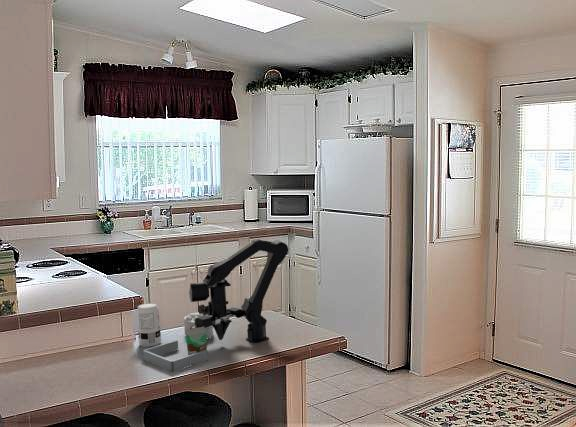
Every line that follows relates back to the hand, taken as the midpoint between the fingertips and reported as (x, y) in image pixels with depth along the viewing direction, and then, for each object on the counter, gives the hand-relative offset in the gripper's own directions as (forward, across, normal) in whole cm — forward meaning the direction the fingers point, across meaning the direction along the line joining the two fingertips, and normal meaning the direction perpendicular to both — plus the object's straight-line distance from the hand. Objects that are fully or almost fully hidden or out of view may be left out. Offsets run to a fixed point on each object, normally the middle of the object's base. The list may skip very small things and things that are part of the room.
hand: (220, 339), depth 222 cm
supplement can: (+2, +16, -23) cm, 28 cm away
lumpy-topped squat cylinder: (+2, -2, -16) cm, 16 cm away
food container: (+2, +9, 0) cm, 9 cm away
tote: (+2, +20, 0) cm, 20 cm away
